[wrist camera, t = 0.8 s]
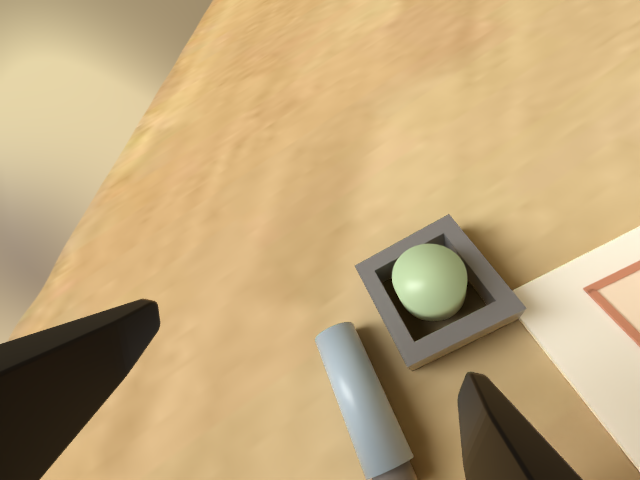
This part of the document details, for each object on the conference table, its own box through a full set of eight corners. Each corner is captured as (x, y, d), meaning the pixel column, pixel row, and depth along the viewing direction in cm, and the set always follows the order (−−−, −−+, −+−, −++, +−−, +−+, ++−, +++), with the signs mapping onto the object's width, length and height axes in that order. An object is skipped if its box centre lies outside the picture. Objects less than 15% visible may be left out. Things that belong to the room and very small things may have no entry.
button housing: (518, 318, 18) (526, 308, 16) (412, 371, 19) (407, 367, 17) (449, 231, 22) (448, 214, 20) (363, 278, 23) (354, 265, 21)
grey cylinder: (425, 479, 17) (426, 488, 15) (379, 500, 17) (372, 513, 15) (356, 328, 22) (349, 317, 20) (321, 345, 22) (309, 337, 20)
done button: (480, 302, 18) (483, 289, 16) (418, 333, 19) (414, 324, 16) (441, 249, 20) (440, 232, 18) (387, 278, 21) (379, 264, 19)
